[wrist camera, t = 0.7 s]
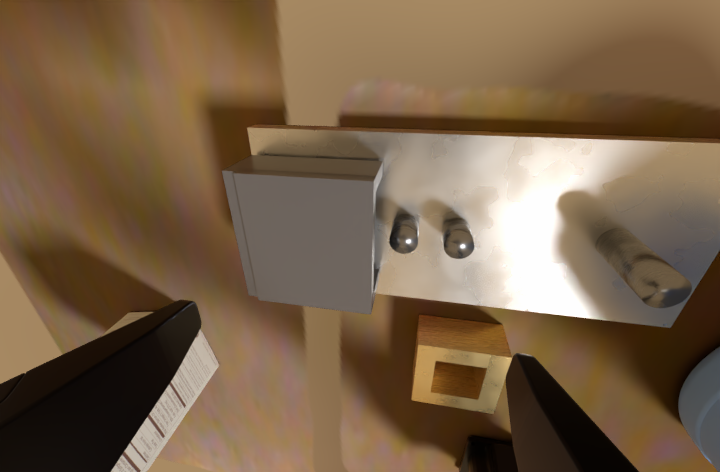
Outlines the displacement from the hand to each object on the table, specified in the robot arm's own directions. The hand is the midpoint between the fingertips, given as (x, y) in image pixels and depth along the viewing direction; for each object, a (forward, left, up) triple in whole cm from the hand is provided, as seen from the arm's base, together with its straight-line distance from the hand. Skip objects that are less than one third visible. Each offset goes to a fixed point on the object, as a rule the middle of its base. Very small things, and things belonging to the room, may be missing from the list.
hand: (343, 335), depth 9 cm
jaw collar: (-13, -6, -13) cm, 19 cm away
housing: (-2, +4, -11) cm, 12 cm away
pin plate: (-2, -5, -13) cm, 14 cm away
